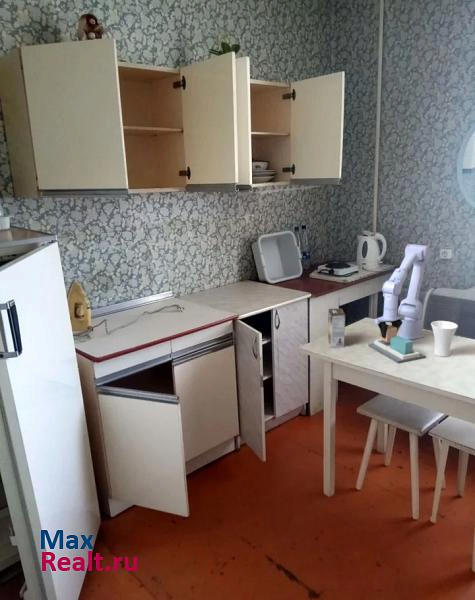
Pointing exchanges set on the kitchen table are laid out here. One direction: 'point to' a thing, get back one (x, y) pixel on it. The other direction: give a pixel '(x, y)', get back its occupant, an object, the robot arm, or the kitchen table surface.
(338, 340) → the coffee box
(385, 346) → the shape board
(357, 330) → the kitchen table surface
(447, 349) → the cup
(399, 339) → the teal bar
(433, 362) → the kitchen table surface
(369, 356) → the kitchen table surface
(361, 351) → the kitchen table surface
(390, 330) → the terracotta block
